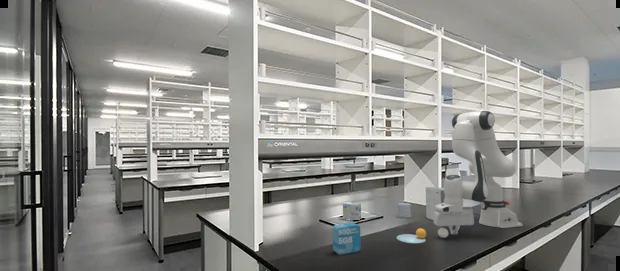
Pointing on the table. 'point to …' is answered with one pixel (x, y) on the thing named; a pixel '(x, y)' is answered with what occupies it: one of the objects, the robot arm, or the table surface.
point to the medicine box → (404, 210)
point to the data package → (346, 238)
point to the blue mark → (410, 238)
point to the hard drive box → (433, 200)
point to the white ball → (443, 232)
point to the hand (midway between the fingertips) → (454, 233)
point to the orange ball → (421, 233)
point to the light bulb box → (352, 210)
